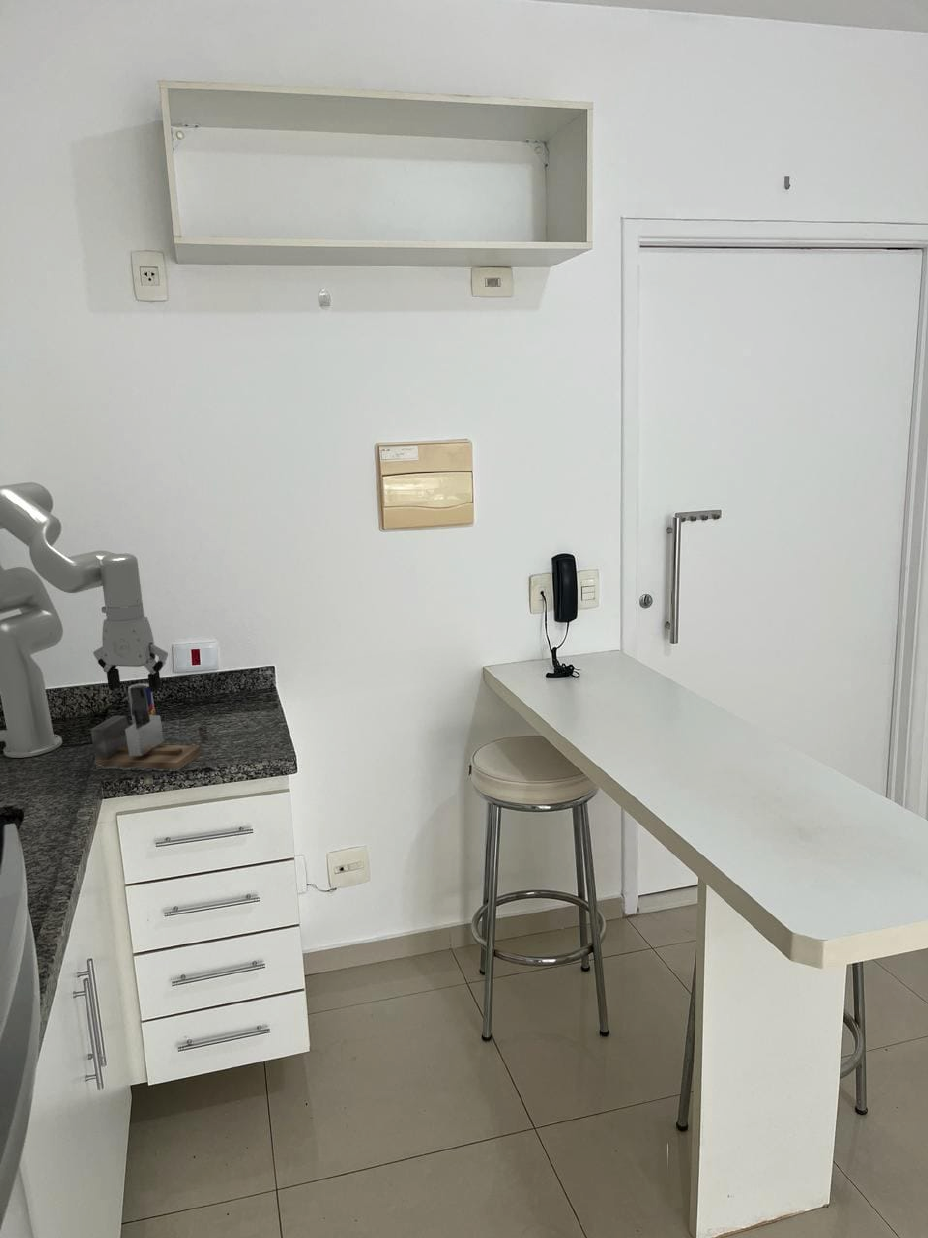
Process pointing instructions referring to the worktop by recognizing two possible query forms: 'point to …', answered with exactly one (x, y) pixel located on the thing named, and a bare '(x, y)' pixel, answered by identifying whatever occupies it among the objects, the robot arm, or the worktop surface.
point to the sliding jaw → (143, 725)
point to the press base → (115, 753)
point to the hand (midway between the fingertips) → (134, 689)
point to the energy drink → (149, 700)
